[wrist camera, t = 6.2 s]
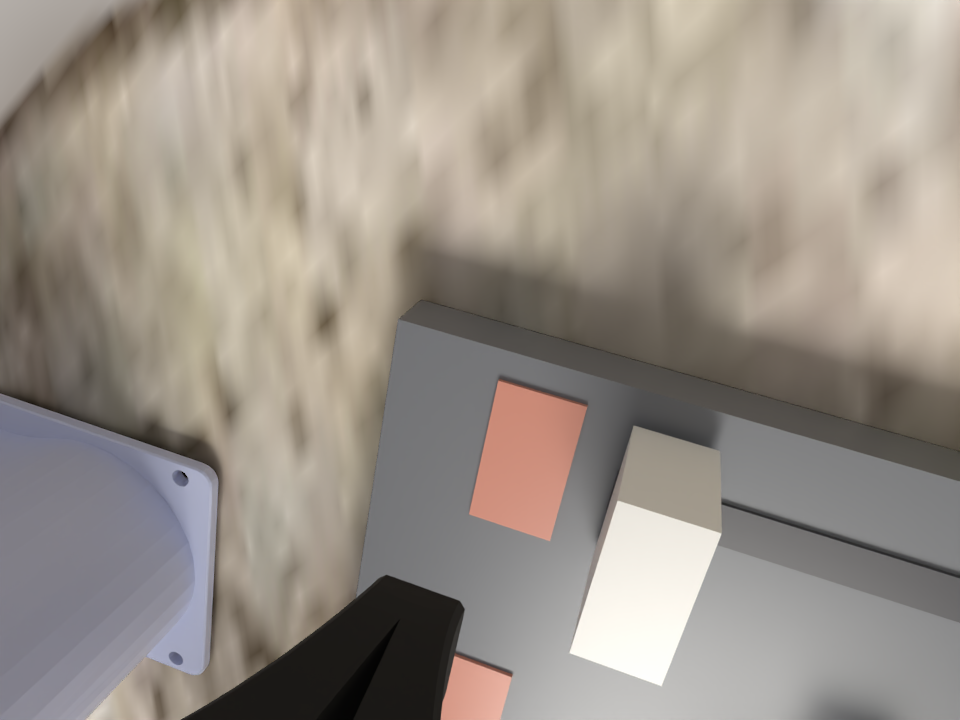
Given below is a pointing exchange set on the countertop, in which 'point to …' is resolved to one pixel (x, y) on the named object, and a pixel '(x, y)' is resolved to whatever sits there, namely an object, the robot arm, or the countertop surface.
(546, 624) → the breaker panel
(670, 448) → the block
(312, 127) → the countertop surface
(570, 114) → the countertop surface
